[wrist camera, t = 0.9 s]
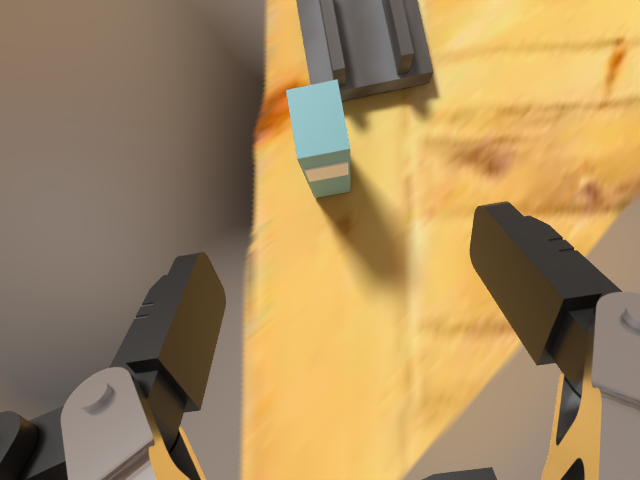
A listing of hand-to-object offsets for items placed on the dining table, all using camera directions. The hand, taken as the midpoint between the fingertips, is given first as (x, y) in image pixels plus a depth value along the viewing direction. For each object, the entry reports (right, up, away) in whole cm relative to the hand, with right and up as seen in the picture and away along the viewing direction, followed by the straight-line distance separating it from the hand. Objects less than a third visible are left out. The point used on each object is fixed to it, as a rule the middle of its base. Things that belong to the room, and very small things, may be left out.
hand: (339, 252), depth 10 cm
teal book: (0, +8, +26) cm, 28 cm away
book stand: (+4, +23, +28) cm, 37 cm away
